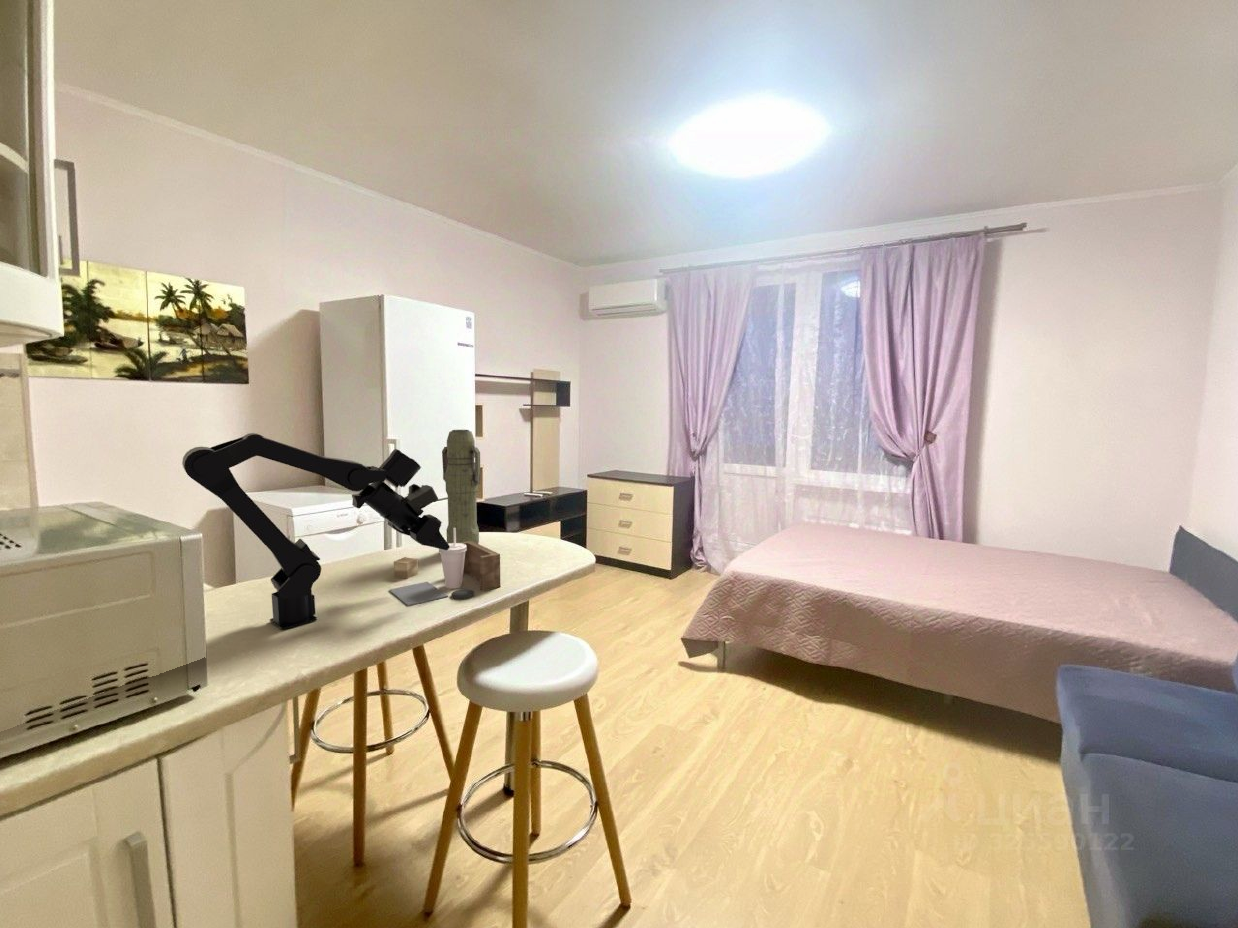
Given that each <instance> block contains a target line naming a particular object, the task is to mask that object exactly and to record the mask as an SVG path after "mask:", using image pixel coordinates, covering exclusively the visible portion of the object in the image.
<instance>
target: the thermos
mask: <svg viewBox="0 0 1238 928" xmlns="http://www.w3.org/2000/svg"><path fill="white" fill-rule="evenodd" d="M441 455H442V456H441V459H442V479H443V481H444V482H445V492H446V494H447V528H446V542H447V543H454V538H453V528H456V543H462V542H468V541H473V542H475V543H477V544H479V543H480V531H479V530H480V529H479V528H480V527H479V526H478V523H477V521H478V519H477V517H478V516H477V513H478V511H477V510H478V509H477V493H478V491H479V487H478V485H479V484H481V451H480V450H479V448H478V447H476V443H475V437H474V434H473V432H472V431H470V430H469V429H452V430H451V431H449V433H448V435H447V438H446V446H444V447H443V449H442V451H441Z"/></svg>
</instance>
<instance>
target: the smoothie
mask: <svg viewBox="0 0 1238 928" xmlns="http://www.w3.org/2000/svg"><path fill="white" fill-rule="evenodd" d="M453 538H454V543H448V545H449V546H450V547H449V549H448V550H443V549H439V548H438V552H439V554H440V560H441V564H442V565H441V566H442V572H443V579H444V585H445V588H446V589H451V590H452V589H453V590H454V589H458V588H461V587H462V586H463V578H464V575H463V569H464V560H465V551H466V550H467V546H466V545H465V544H462V543H456V528H453Z"/></svg>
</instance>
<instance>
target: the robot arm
mask: <svg viewBox="0 0 1238 928" xmlns="http://www.w3.org/2000/svg"><path fill="white" fill-rule="evenodd" d="M254 457H261V458H264V459H267V460H270V461H274V462H277V463H280V464H283V465H286V466H290V467H293V468H297V469H300V470H303V471H306V472H310V473H312V474H317V475H319V476H322V477H323V478H325V479H327V480H328V481H331V482H333V483H334V484H335V483H336V484H337V485H339V486H341V487H344V488H345V489H347V490H349V491H352V492H358V493H353V494H351V498H352V506H353V507H355V508H356V509H358V510H359V509H360V508H362V507H363V506H364V504H366V505H367V506H368V507H369V508H371V509H372V510H373V511H375V512H376V513H378V514H379V516H380V517H382V518H383V519H385V520H387V525H388V526H389V527H390V528H391V529H393V530H394V531H396V532H398V533H399V534H402V535H405V536H410V538H411V539H412V540H413V541H415V542H416V543H418V544H419V545H421V546H427V547H430V548H435V549H438V550H439V549H443V550H448V549H449V547H450V546H449V545H448V543H447V539H446V538H444V536H443V535H442V533H441V532H440V528H441V527H442V523H443V522H442V521H441V520H440V519H438V517H436V516H435V515H432V514H430V513H429V514H423V513H424V512H425V511H424V510H423V509H424V508H426V507H428V506H429V505H430V504H432V503H435V502H438V500H439V497H438V494H437V493H436V492H435V490H434V488H433V486H430V485H428V484H425V485H424V484H422V485H421V486H420V485H418V484H415V483H412V484H410V485H409V486H408V493H407V495H406V496H403V495H401V494H399V493H398V492H396V491H395V489H398V488H399V487H401V488H405V487H406V486H407V485H408V483H409V482H410V481H411V480H412V479H413V478H414V476H416V474H417V473H418V472H419V471H420V470H421V469H422V467H421V465H420V464H419V463H418V462H417V460H415V459H414V458H412V457H411V458H410V457H409V456H408V455H407V454H405V453H403V452H402V451H401V450H399V449H397V448H394V449H393V450H392V451H391V452H390V454H389V456H388V457H387V458H386V459H385V460H384V461H383V462H382V463H381V465H380V466H378V467H377V466H376V465H375V466H374V465H370V466H369V465H368V466H367V465H365V464H363V463H359V462H357V461H354V460H349V459H348V460H347V459H343V458H335V457H328V456H322V455H320V454H317V453H313V452H309V451H307V450H304V449H301V448H298V447H294V446H292V445H290V444H289V445H288V444H285V443H283V442H279V441H276V440H273V439H271V438H267V437H265V436H263V435H261V434H259V433H255V432H251V433H247V434H245V435H243V436H241V437H238V438H236V439H233V440H229V441H226V442H222V443H219V444H216V445H214V446H211V447H207V446H195V447H192V448H191V449H189V450H187V451H186V452H185V454H184V456H183V457H182V462H181V464H182V467H183V469H184V471H185V473H186V474H187V476H188V477H190V478H191V479H192V480H193V481H194V482H196V483H197V484H199V485H200V486H202V487H203V488H204V489H206V490H207V491H209V492H210V493H211V494H213V495H215V496H216V497H217V498H219V499H220V500H222V502H224V503H225V505H226V506H227V507H228V508H229V509H230V510H231V511H232V512H233V513H234V514H235V515H236V516H237V517H238V518H239V520H241V521H242V522H243V523H244V525H246V526H247V528H248V529H249V530H250V531H251V532H252V533H253V534H254V535H255V536H256V537H257V538H258V539H259V540H260V541H261V542H262V543H263V544H264V545H265V546H266V548H267V549H268V550H269V551H271V553H272V555H273V557H274V559H275V560H276V562H277V563H278V565H279V567H280V569H279V570H277V572H276V573H275V574H273V576H272V577H271V578H270V583H272V586H273V588H274V589H275V590H276V591H275V592H273V593H271V606H272V607H271V608H272V617H271V618H270V619H269V622H270V623H271V624H272V625H274V626H276V627H277V628H279V629H280V630H287V629H291V628H295V627H298V626H302V625H304V624H308V623H312V622H315V621H317V620H318V617H317V616H316V601H315V600H316V599H315V598H316V597H315V595H314V594H313V593H312V592H313V590H312V588H313V585H314V584H315V582H316V581H317V580H319V578H320V576H321V571H322V566H321V564H320V562H319V561H320V560H321V558H320V557H319V556H318V555H317V554H316V553H315V552H314V551H313V550H311V548H310V546H309V545H308V544H307V543H306V542H305V541H304V540H303V539H302V538H298V540H297V541H295V542H294V541H293V540H291V539H290V538H288V537H287V536H286V535H285V534H284V533H283V532H282V531H281V530H280V528H279V527H278V526H277V525H276V524H275V523H274V522H273V521H272V520H271V518H269V517H268V515H266V513H265V512H264V511H263V510H262V509H261V508H260V507H259V506H258V504H256V503H255V501H254V500H253V499H252V498H251V497H250V496H249V495H248V494H247V493H246V492H245V490H244V489H243V488H241V486H240V485H239V483H238V482H237V480H236V478H235V476H234V474H233V472H232V471H231V469H230V468H233V467H235V466H238V465H240V464H241V463H243V462H245V461H247V460H250V459H252V458H254ZM385 482H387V483H388V484H390V485H391V486H392V487H394V488H395V489H393V488H392V487H391V486H389V485H388V484H387V483H385Z"/></svg>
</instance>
